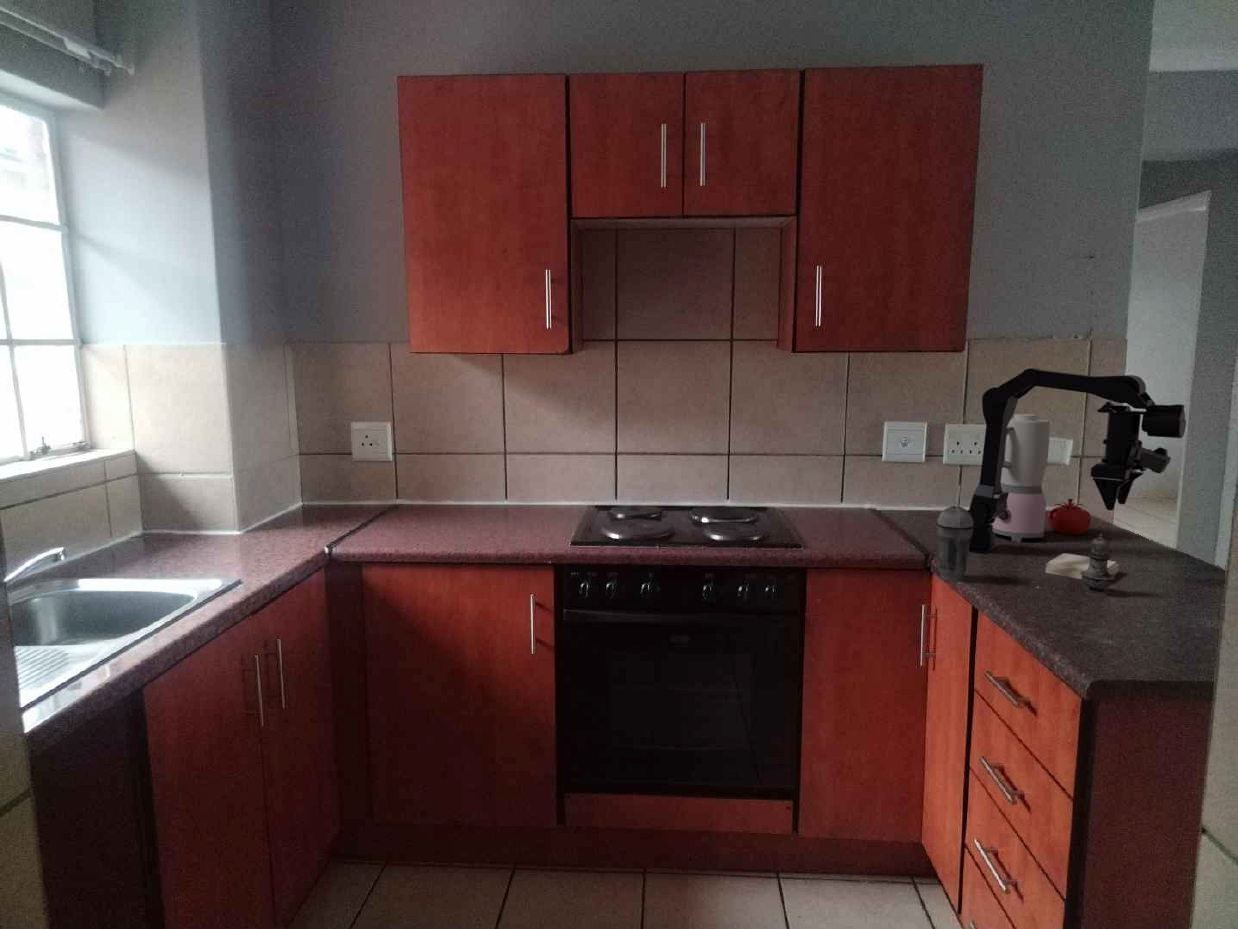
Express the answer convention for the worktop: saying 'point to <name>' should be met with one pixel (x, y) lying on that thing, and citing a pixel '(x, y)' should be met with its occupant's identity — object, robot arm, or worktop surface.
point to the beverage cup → (954, 540)
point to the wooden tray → (1074, 565)
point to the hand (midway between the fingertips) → (1116, 507)
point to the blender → (1024, 478)
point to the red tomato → (1069, 519)
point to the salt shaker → (1097, 569)
